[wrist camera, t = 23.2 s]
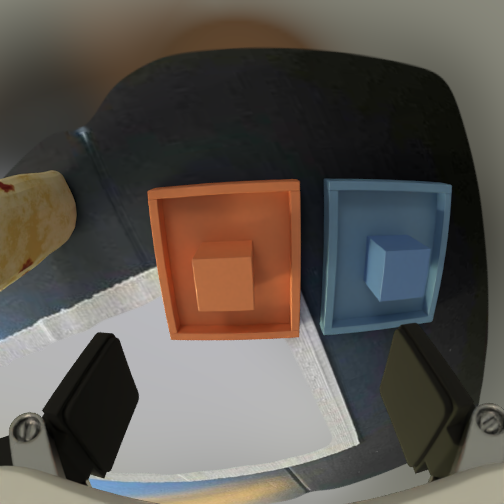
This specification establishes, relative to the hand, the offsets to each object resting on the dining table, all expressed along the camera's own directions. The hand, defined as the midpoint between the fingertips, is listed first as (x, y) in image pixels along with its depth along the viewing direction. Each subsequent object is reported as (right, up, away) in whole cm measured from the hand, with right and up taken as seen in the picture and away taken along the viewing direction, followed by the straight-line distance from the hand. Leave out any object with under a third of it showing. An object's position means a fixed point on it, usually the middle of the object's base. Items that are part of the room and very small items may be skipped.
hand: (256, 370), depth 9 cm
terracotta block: (-2, +3, +18) cm, 18 cm away
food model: (-21, +8, +17) cm, 28 cm away
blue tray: (+13, +4, +18) cm, 22 cm away
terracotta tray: (-2, +3, +18) cm, 19 cm away
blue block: (+13, +3, +18) cm, 22 cm away
